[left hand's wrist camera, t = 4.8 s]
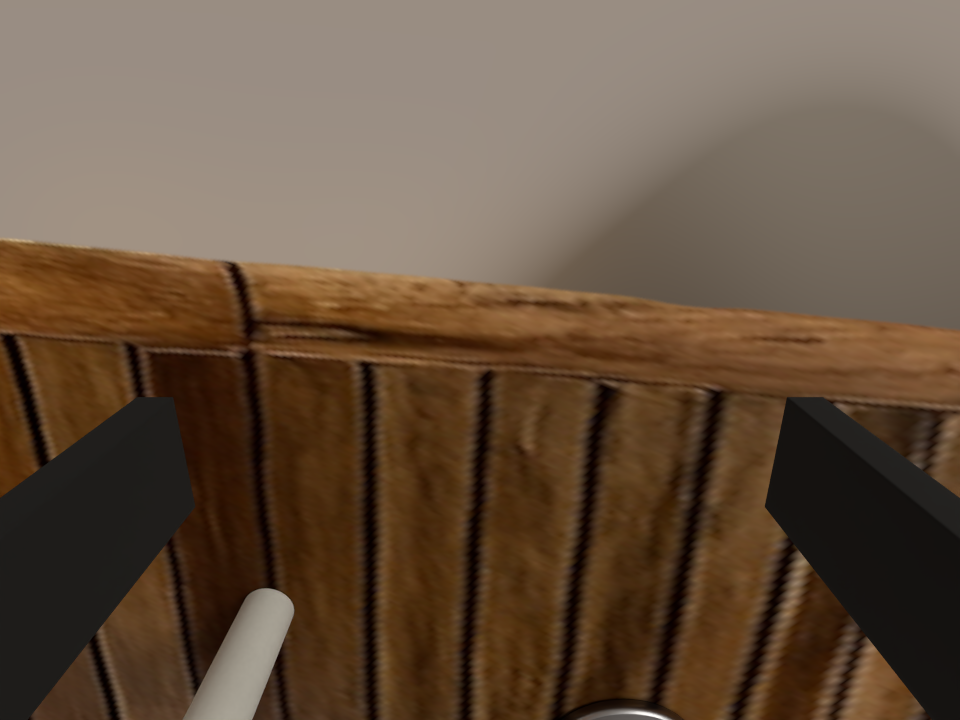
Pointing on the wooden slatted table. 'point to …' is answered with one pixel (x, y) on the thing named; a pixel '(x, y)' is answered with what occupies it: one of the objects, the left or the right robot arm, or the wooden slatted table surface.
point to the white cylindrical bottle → (244, 659)
